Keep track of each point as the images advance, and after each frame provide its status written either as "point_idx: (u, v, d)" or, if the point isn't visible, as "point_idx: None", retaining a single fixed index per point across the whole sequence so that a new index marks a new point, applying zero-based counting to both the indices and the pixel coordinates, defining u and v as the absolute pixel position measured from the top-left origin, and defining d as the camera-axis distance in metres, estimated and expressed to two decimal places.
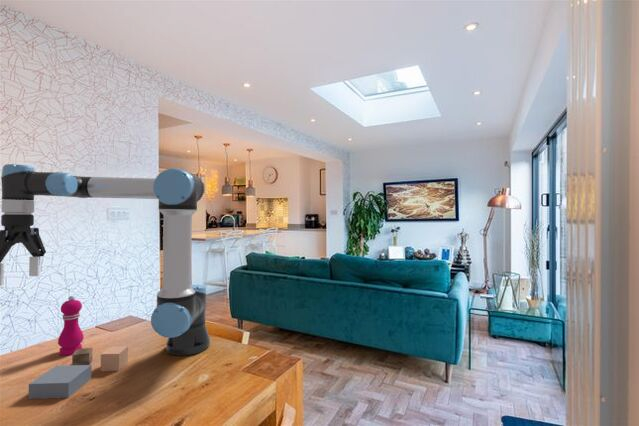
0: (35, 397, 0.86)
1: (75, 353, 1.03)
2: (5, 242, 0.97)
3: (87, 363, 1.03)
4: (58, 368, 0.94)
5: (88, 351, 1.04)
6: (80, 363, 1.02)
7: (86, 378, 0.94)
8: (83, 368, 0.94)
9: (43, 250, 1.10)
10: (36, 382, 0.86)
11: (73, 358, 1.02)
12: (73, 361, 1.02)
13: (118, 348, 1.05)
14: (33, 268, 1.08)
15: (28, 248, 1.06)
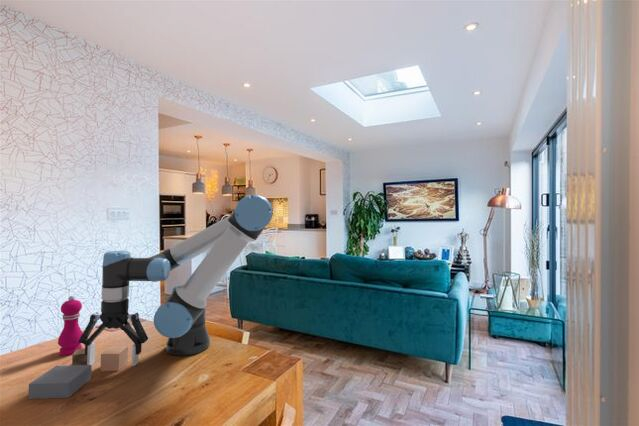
0: (35, 397, 0.86)
1: (75, 353, 1.03)
2: None
3: None
4: (58, 368, 0.94)
5: None
6: (80, 363, 1.02)
7: (86, 378, 0.94)
8: (83, 368, 0.94)
9: (141, 339, 1.03)
10: (36, 382, 0.86)
11: (73, 358, 1.02)
12: (73, 361, 1.02)
13: (118, 348, 1.05)
14: None
15: None
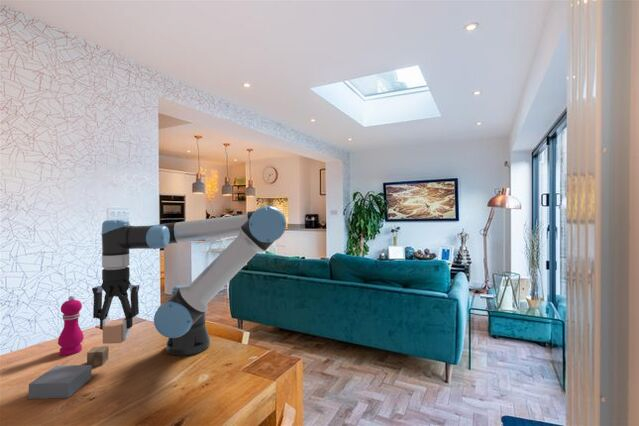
0: (35, 397, 0.86)
1: (104, 352, 1.05)
2: None
3: (90, 364, 1.04)
4: (58, 368, 0.94)
5: (104, 362, 1.06)
6: (92, 359, 1.04)
7: (86, 378, 0.94)
8: (83, 368, 0.94)
9: (132, 313, 1.03)
10: (36, 382, 0.86)
11: (98, 353, 1.04)
12: (95, 353, 1.04)
13: (120, 321, 1.05)
14: None
15: None
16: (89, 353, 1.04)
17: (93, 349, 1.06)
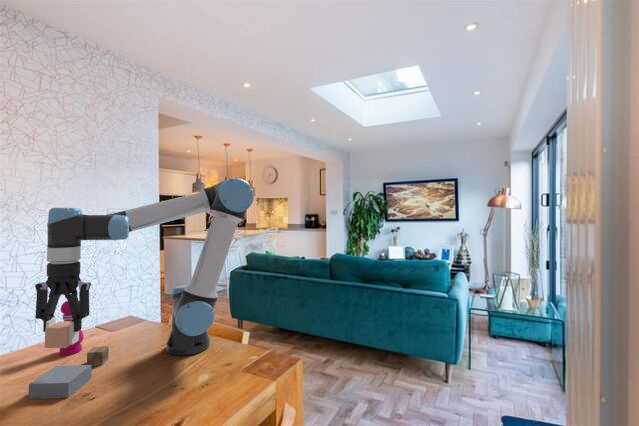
0: (35, 397, 0.86)
1: (104, 352, 1.05)
2: None
3: (90, 364, 1.04)
4: (58, 368, 0.94)
5: (104, 362, 1.06)
6: (92, 359, 1.04)
7: (86, 378, 0.94)
8: (83, 368, 0.94)
9: (81, 314, 0.90)
10: (36, 382, 0.86)
11: (98, 353, 1.04)
12: (95, 353, 1.04)
13: (68, 323, 0.92)
14: None
15: None
16: (89, 353, 1.04)
17: (93, 349, 1.06)
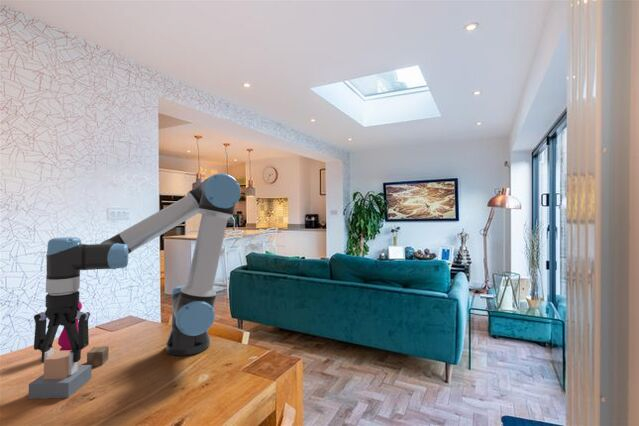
0: (35, 397, 0.86)
1: (104, 352, 1.05)
2: None
3: (90, 364, 1.04)
4: None
5: (104, 362, 1.06)
6: (92, 359, 1.04)
7: (86, 378, 0.94)
8: (83, 368, 0.94)
9: (80, 344, 0.90)
10: (36, 382, 0.86)
11: (98, 353, 1.04)
12: (95, 353, 1.04)
13: (67, 352, 0.92)
14: None
15: None
16: (89, 353, 1.04)
17: (93, 349, 1.06)
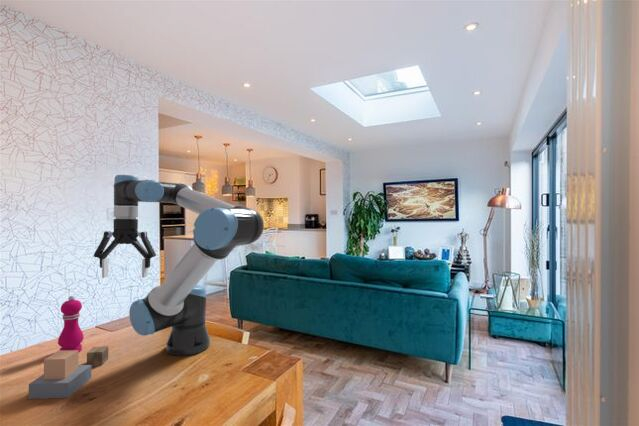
0: (35, 397, 0.86)
1: (103, 352, 1.05)
2: None
3: (90, 364, 1.04)
4: None
5: (103, 362, 1.06)
6: (92, 359, 1.04)
7: (86, 378, 0.94)
8: (83, 368, 0.94)
9: (150, 254, 1.15)
10: (36, 382, 0.86)
11: (98, 353, 1.04)
12: (95, 353, 1.04)
13: (67, 352, 0.92)
14: None
15: None
16: (89, 353, 1.04)
17: (93, 349, 1.06)
